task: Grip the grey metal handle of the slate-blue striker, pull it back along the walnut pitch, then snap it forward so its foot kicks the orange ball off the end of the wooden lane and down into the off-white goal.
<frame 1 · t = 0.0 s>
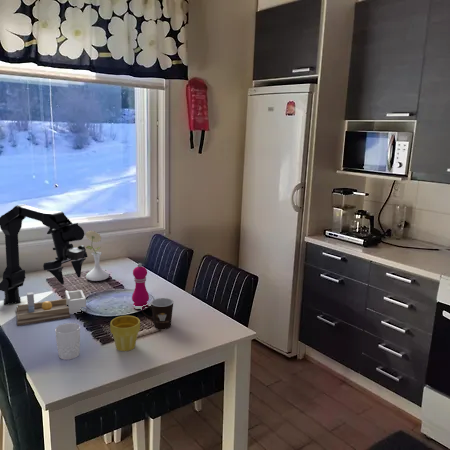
hand: (71, 280, 178), 15 cm above the table, tool pointing down, fingers open, 9 cm apart
striker: (30, 302, 181), point 5 cm above the table, slide at 0.0 cm
plant pot: (126, 347, 158), on the table
white cup: (69, 355, 151), on the table
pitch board: (42, 313, 184), on the table
ball: (47, 305, 184), point 3 cm above the table, touching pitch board
flower in vase: (96, 279, 226), on the table
coffee mug: (159, 325, 175), on the table
goal: (75, 308, 189), on the table
pepper mill: (140, 307, 192), on the table
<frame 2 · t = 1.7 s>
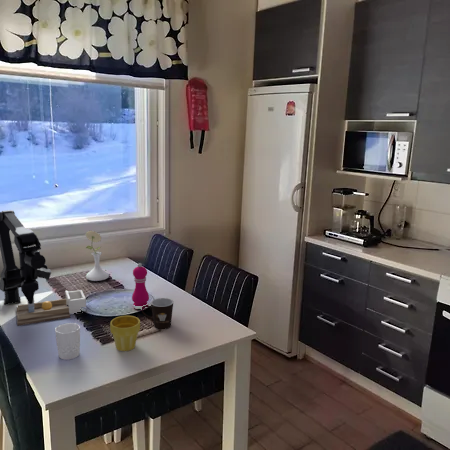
hand: (30, 299, 180), 7 cm above the table, tool pointing down, fingers open, 9 cm apart
nothing on the table moved.
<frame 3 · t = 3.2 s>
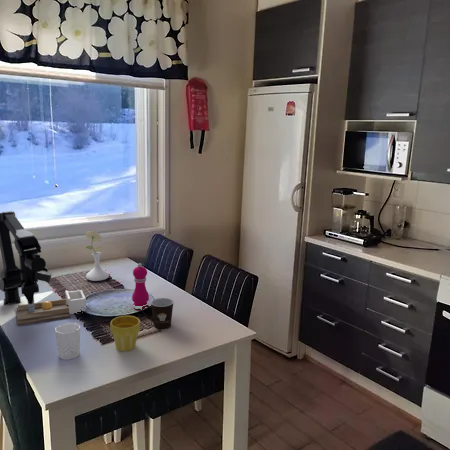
hand: (30, 302, 181), 6 cm above the table, tool pointing down, fingers closed on striker, 2 cm apart
striker: (30, 302, 181), point 5 cm above the table, slide at 0.0 cm, touching gripper
everything else where it was.
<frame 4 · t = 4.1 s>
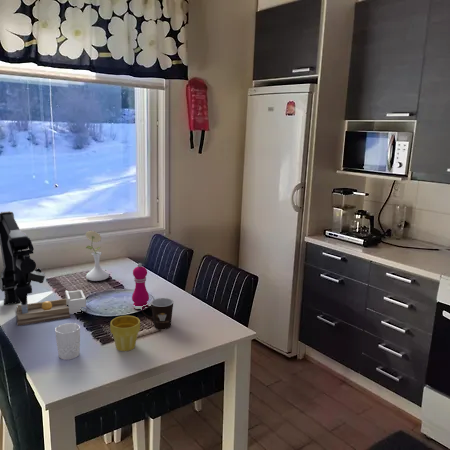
hand: (24, 303, 180), 6 cm above the table, tool pointing down, fingers closed on striker, 2 cm apart
striker: (24, 303, 180), point 5 cm above the table, slide at -2.5 cm, touching gripper
everything else where it was.
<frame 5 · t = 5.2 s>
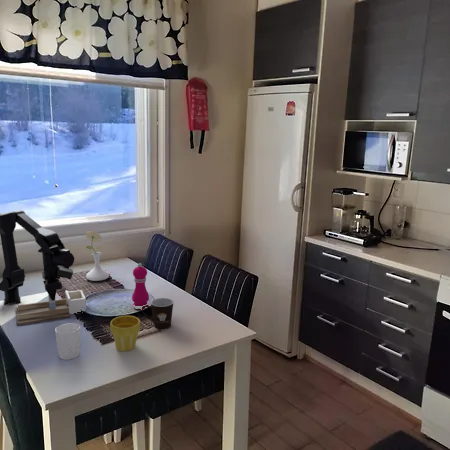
hand: (53, 299, 184), 6 cm above the table, tool pointing down, fingers closed on striker, 2 cm apart
striker: (52, 300, 184), point 5 cm above the table, slide at 8.1 cm, touching gripper
ball: (76, 303, 189), point 2 cm above the table, tilted 23°
everything else where it was.
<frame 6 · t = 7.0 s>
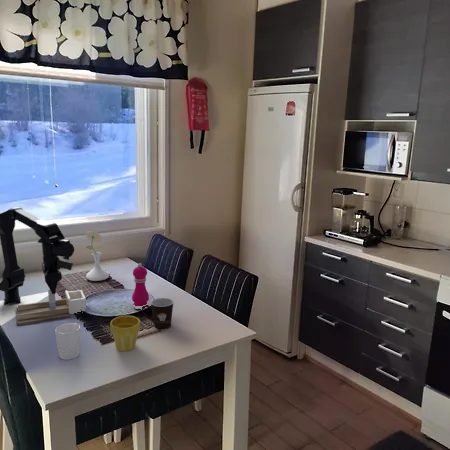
hand: (52, 290, 183), 10 cm above the table, tool pointing down, fingers open, 9 cm apart
striker: (52, 300, 184), point 5 cm above the table, slide at 8.1 cm
ball: (71, 304, 188), point 2 cm above the table, tilted 81°
everything else where it was.
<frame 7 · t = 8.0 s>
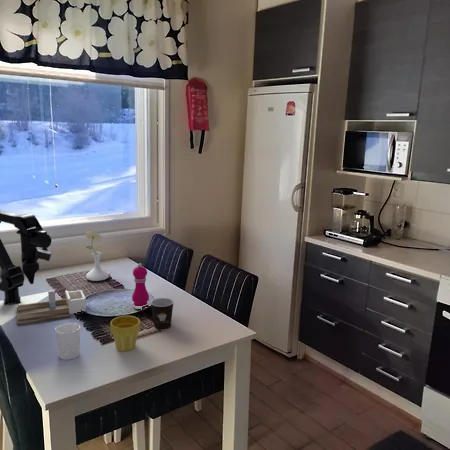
hand: (31, 280, 187), 12 cm above the table, tool pointing down, fingers open, 9 cm apart
nothing on the table moved.
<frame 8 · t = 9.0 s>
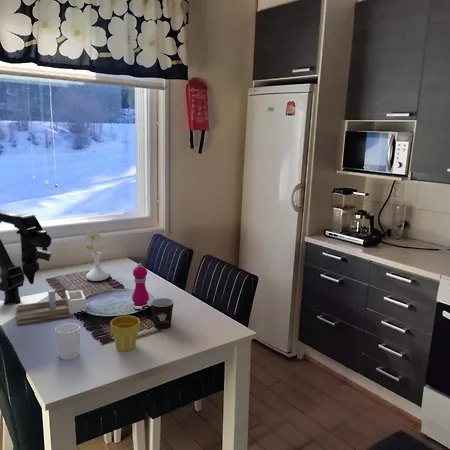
hand: (31, 280, 187), 12 cm above the table, tool pointing down, fingers open, 9 cm apart
nothing on the table moved.
at the end: ball inside the target area (1.4 cm from its centre), point 2.0 cm above the table; striker slide at 8.1 cm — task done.
